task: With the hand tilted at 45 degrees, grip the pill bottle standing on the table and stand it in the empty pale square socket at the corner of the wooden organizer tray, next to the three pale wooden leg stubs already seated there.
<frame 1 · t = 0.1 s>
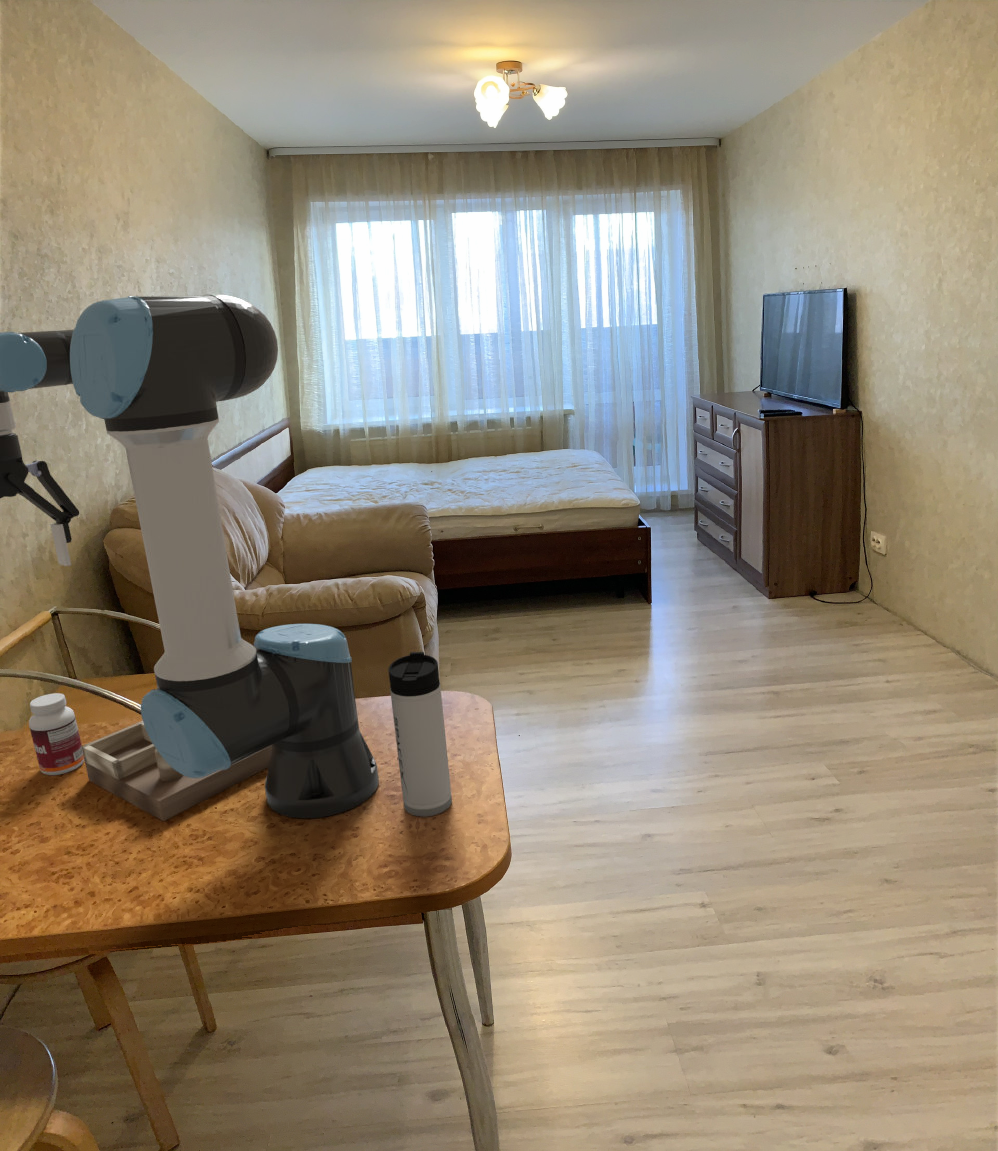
hand: (20, 575, 134), 28 cm above the table, tool pointing down, fingers open, 13 cm apart
pill bottle: (63, 767, 133), on the table
travel mug: (428, 805, 115), on the table
wooden organizer tray: (188, 769, 129), on the table
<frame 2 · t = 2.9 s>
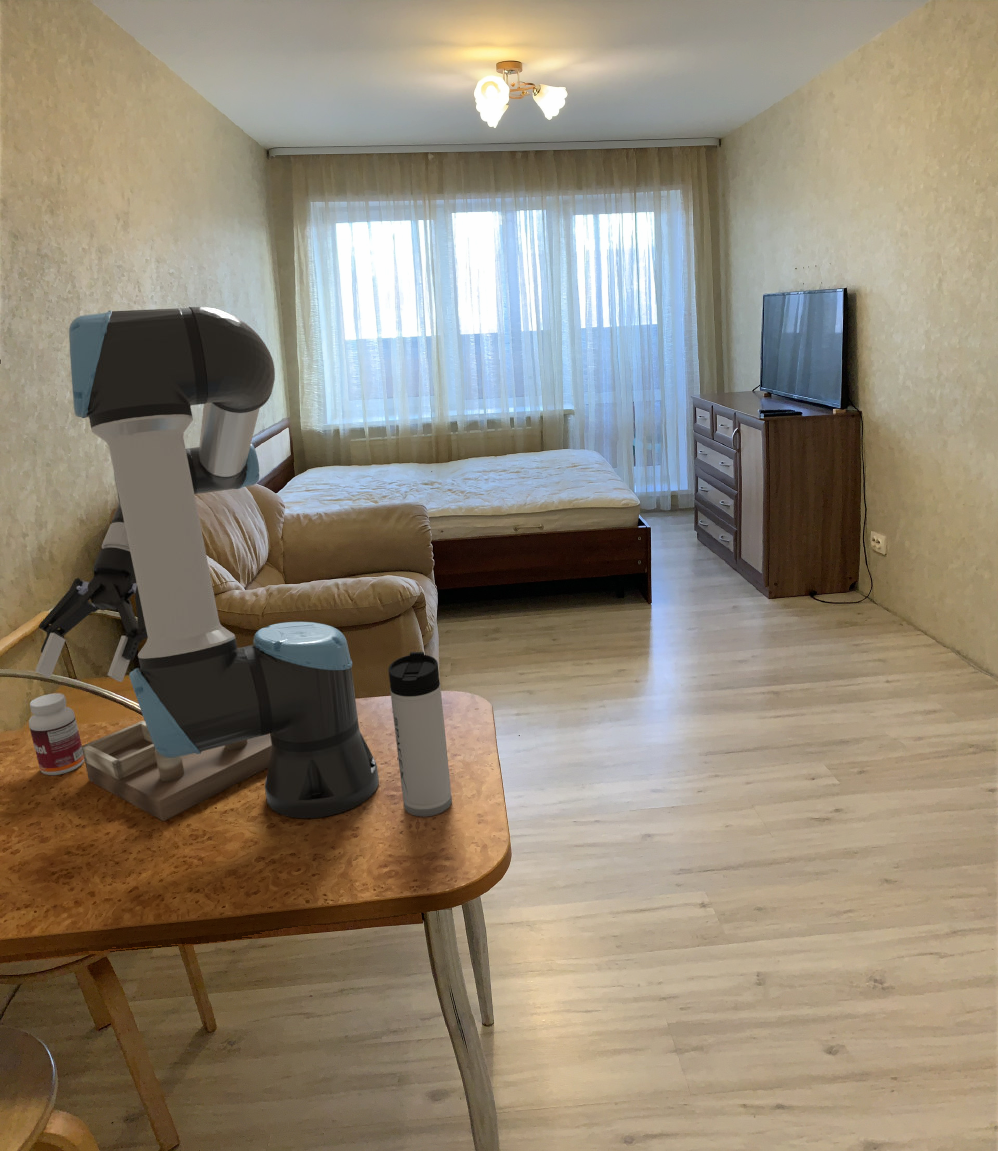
hand: (78, 676, 137), 11 cm above the table, tool tilted 45°, fingers open, 13 cm apart
nothing on the table moved.
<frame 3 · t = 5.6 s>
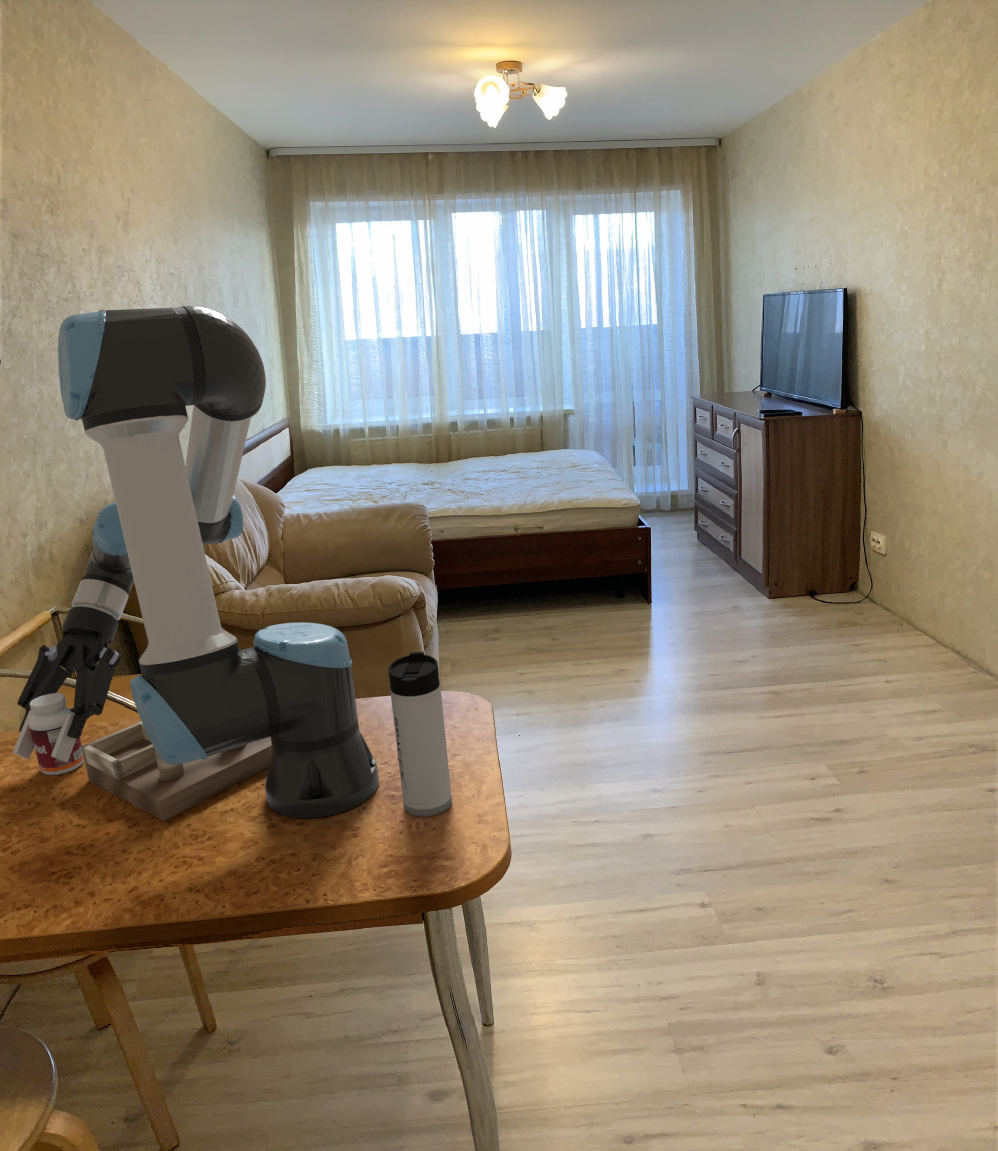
hand: (40, 757, 129), 3 cm above the table, tool tilted 45°, fingers closed on pill bottle, 6 cm apart
pill bottle: (63, 767, 133), on the table, touching gripper
everything else where it was.
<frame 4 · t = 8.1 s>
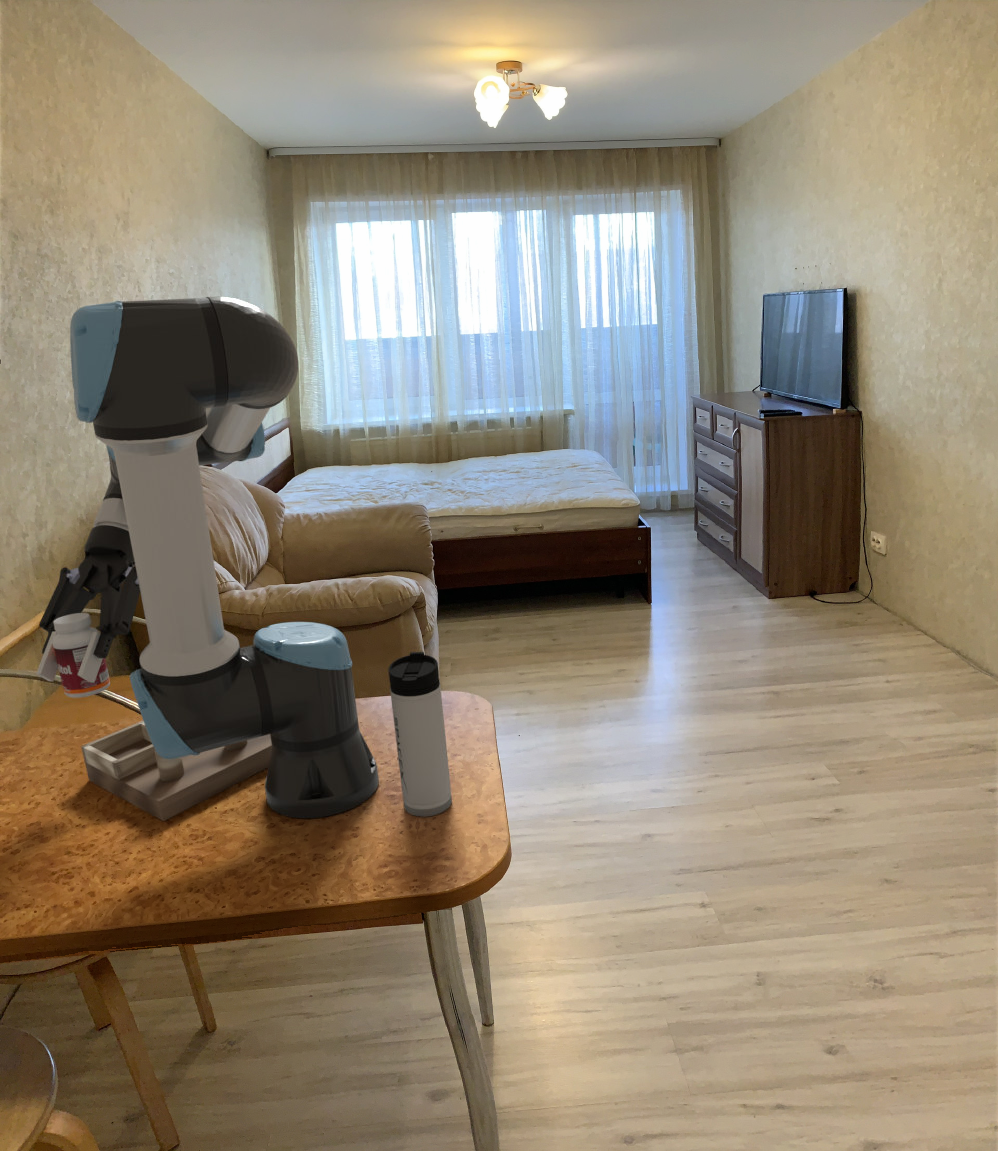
hand: (65, 677, 123), 16 cm above the table, tool tilted 45°, fingers closed on pill bottle, 6 cm apart
pill bottle: (88, 691, 127), point 13 cm above the table, touching gripper
everything else where it was.
when the fingers open (8 cm above the table, at t = 10.9 s): pill bottle drops 1 cm, resting on wooden organizer tray.
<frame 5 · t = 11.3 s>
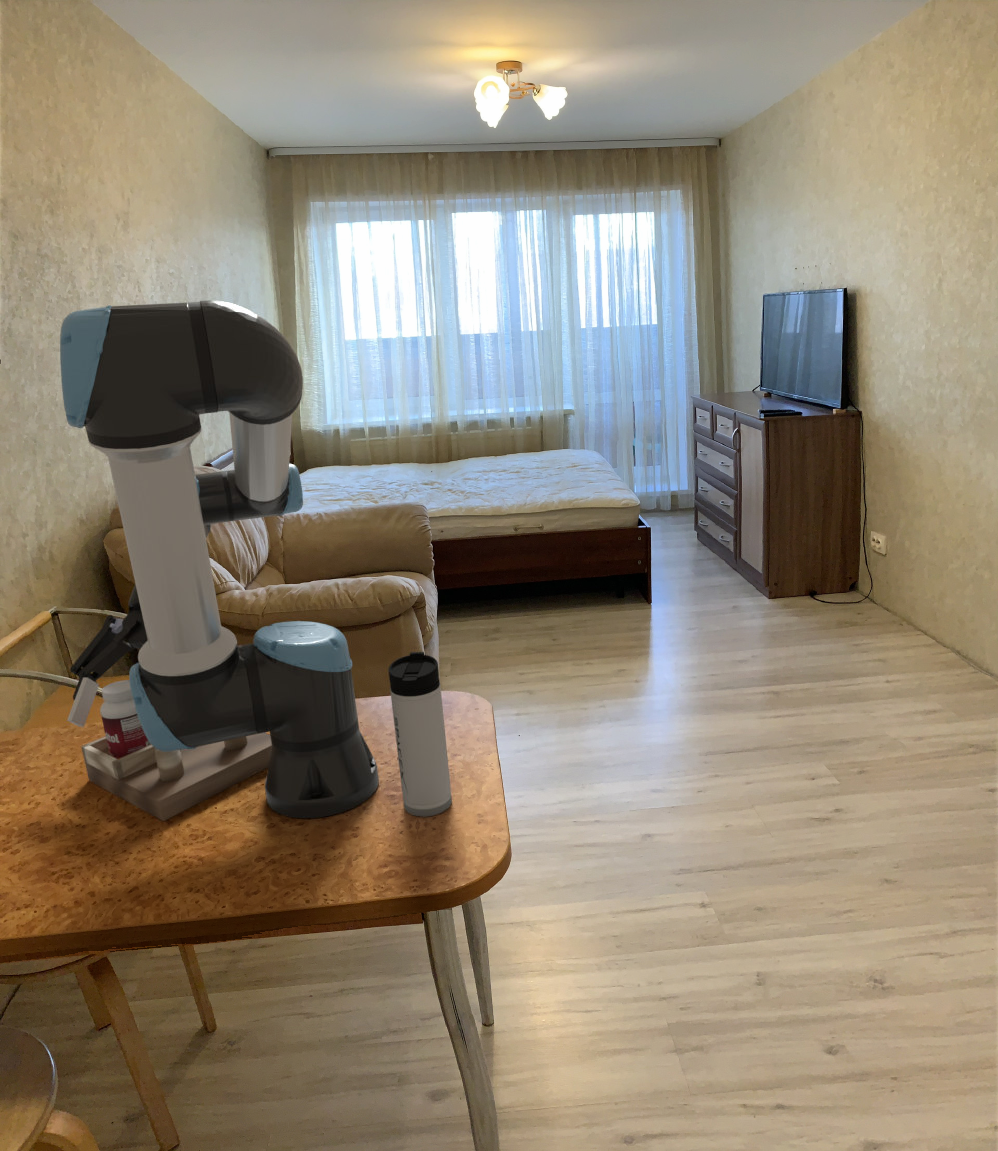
hand: (113, 726, 124), 9 cm above the table, tool tilted 45°, fingers open, 12 cm apart
pill bottle: (134, 757, 128), point 3 cm above the table, touching wooden organizer tray
everything else where it was.
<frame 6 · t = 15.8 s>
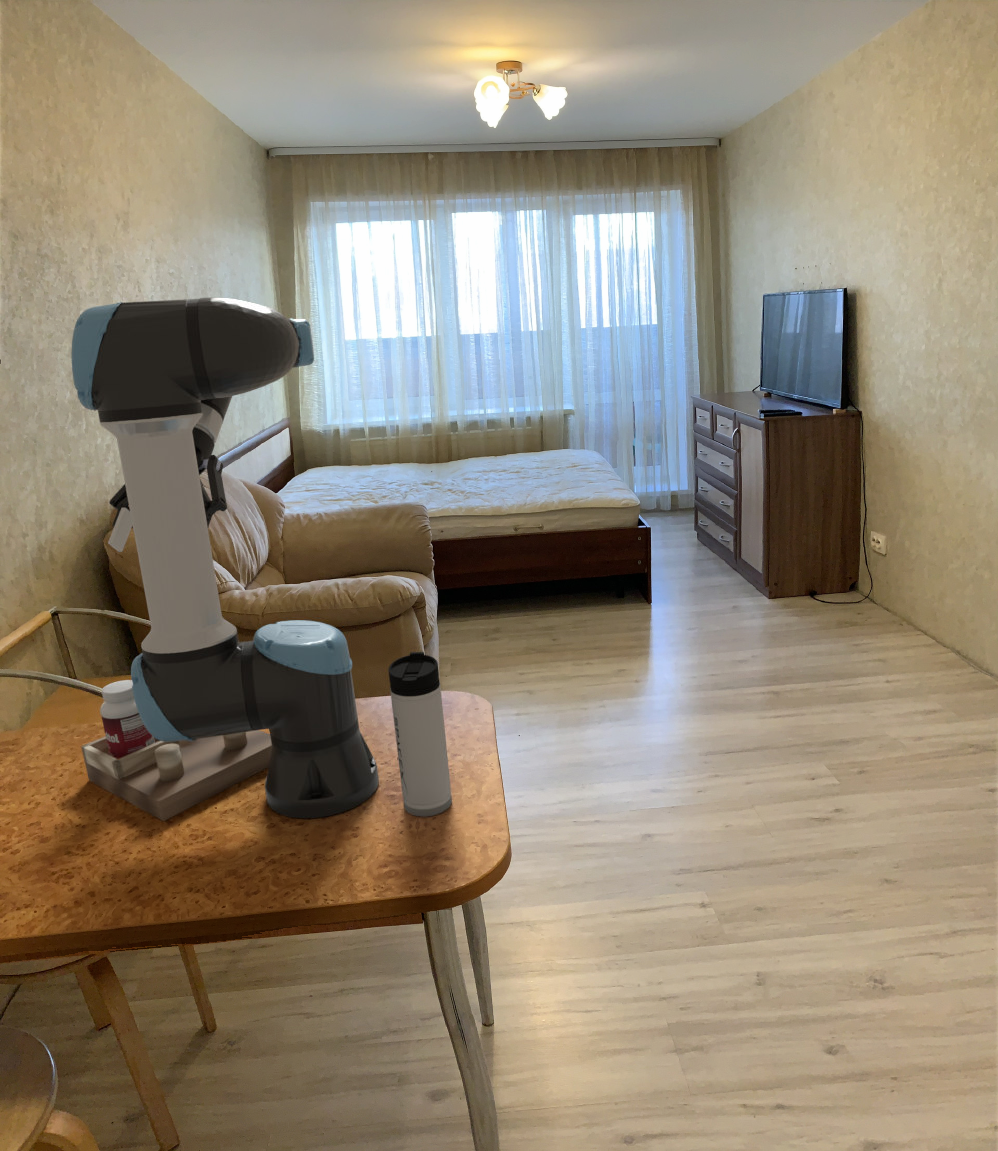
hand: (151, 547, 137), 30 cm above the table, tool tilted 45°, fingers open, 13 cm apart
nothing on the table moved.
at the end: pill bottle 0.1 cm from the target spot on the wooden organizer tray, point 2.8 cm above the wooden organizer tray's base; pill bottle tilted 0°; the gripper is holding nothing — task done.
